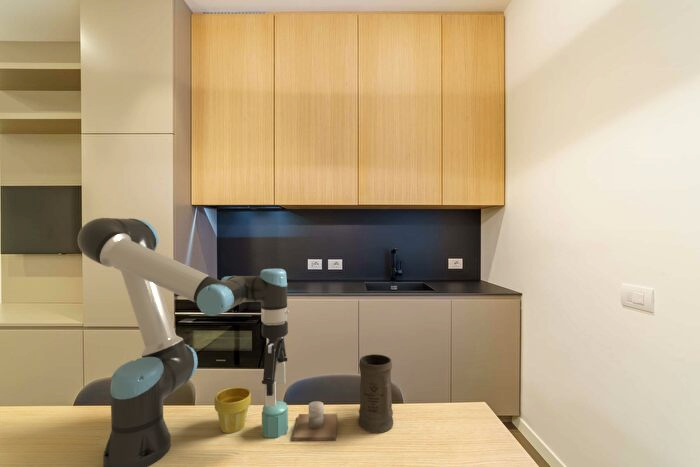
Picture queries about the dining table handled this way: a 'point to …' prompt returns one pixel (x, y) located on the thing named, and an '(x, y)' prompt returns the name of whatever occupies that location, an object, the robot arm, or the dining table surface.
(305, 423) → the post block
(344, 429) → the dining table surface
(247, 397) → the plant pot
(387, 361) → the beer stein
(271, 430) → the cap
